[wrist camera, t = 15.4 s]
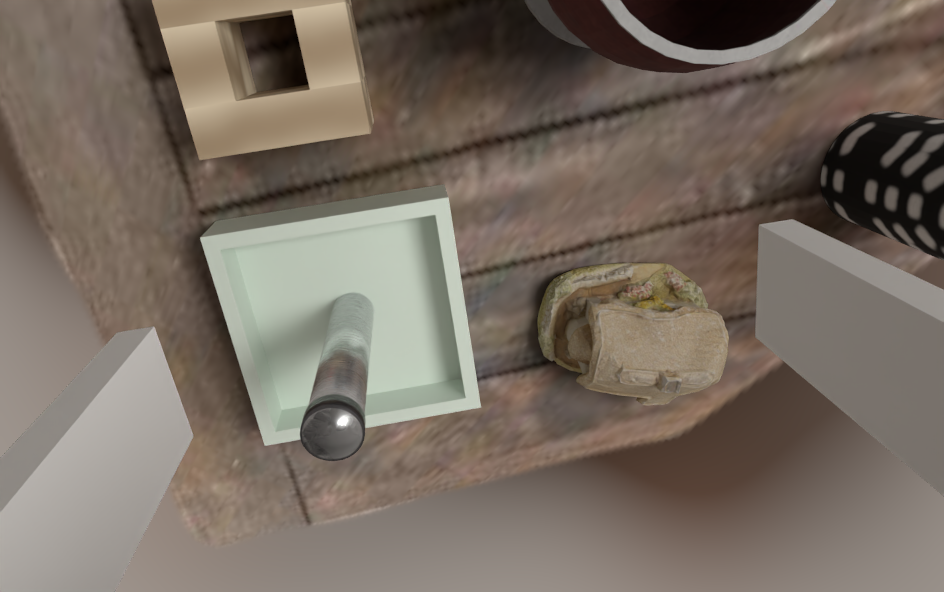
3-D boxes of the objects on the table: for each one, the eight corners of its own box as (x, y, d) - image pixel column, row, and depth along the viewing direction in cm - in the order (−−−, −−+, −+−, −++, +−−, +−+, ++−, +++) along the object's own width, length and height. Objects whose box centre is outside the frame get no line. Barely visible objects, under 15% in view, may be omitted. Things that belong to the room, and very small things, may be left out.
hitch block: (177, -22, 40) (142, -31, 34) (342, -46, 40) (333, -58, 35) (224, 144, 43) (199, 160, 38) (373, 120, 44) (370, 133, 38)
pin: (326, 295, 47) (293, 412, 32) (370, 287, 47) (357, 401, 32) (336, 334, 48) (307, 465, 33) (379, 327, 48) (369, 454, 34)
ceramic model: (723, 267, 51) (796, 319, 42) (685, 393, 55) (744, 465, 46) (549, 247, 49) (585, 297, 40) (522, 379, 53) (549, 453, 44)
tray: (215, 220, 45) (200, 237, 42) (444, 184, 46) (448, 197, 42) (274, 416, 51) (264, 445, 48) (474, 380, 52) (480, 407, 48)
